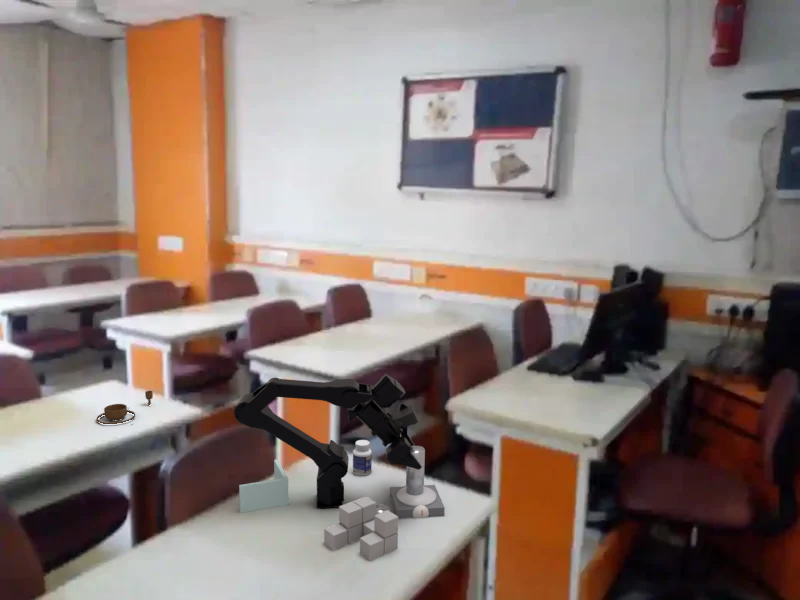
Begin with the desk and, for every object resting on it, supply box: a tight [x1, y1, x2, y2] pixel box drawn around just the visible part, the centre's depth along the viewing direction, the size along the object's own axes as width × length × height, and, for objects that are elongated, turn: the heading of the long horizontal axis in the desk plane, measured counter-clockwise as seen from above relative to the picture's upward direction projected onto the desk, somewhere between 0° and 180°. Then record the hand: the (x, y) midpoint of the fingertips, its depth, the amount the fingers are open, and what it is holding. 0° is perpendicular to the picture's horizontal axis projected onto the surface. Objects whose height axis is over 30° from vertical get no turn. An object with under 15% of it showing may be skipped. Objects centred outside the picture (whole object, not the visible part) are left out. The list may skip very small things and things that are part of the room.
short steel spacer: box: [376, 503, 390, 514], centre depth 158 cm, size 4×4×3 cm
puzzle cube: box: [323, 496, 399, 562], centre depth 146 cm, size 12×12×8 cm
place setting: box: [96, 390, 154, 424], centre depth 220 cm, size 18×20×6 cm
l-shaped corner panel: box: [238, 459, 290, 514], centre depth 167 cm, size 12×12×8 cm
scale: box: [389, 484, 446, 519], centre depth 165 cm, size 12×12×4 cm
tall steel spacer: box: [405, 445, 426, 495], centre depth 166 cm, size 5×5×12 cm
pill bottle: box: [352, 439, 373, 477], centre depth 182 cm, size 5×5×9 cm
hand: (418, 460), depth 165 cm, fingers open, 9 cm apart
